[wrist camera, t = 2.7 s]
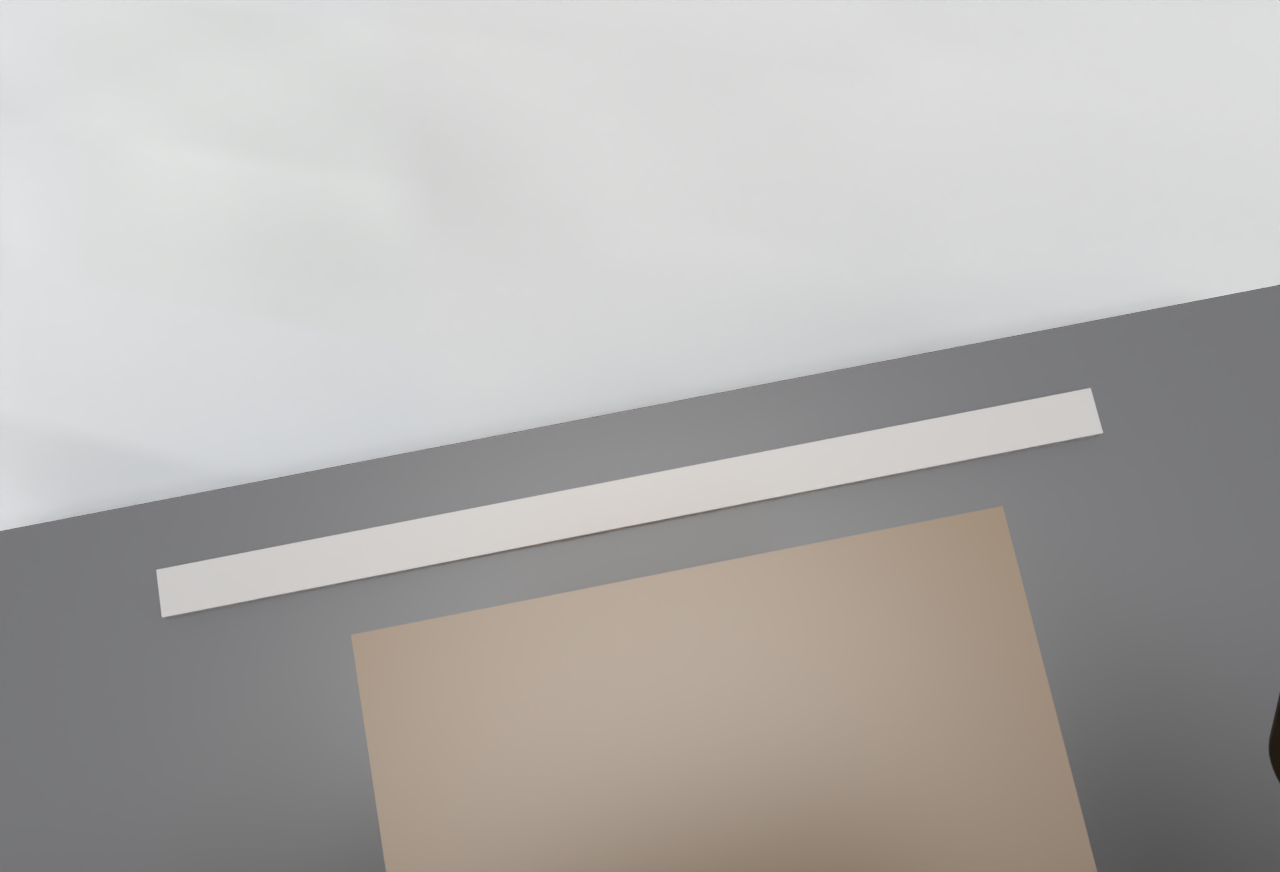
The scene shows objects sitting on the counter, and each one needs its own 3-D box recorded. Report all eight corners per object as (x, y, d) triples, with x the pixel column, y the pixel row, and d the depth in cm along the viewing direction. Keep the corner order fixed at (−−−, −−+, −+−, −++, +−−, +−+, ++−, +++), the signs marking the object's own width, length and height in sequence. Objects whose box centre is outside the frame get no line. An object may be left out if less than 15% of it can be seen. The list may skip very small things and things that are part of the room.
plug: (861, 898, 16) (1187, 1221, 7) (569, 959, 16) (463, 1382, 6) (796, 605, 17) (1003, 506, 7) (518, 661, 17) (351, 635, 7)
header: (1363, 879, 17) (1498, 916, 14) (73, 1154, 16) (-38, 1245, 14) (1201, 336, 18) (1295, 278, 16) (16, 565, 18) (-92, 545, 15)
